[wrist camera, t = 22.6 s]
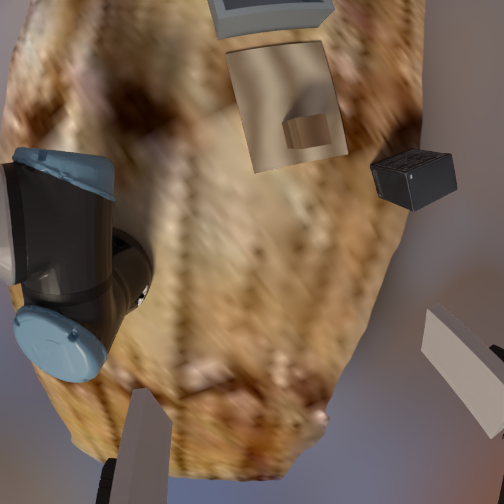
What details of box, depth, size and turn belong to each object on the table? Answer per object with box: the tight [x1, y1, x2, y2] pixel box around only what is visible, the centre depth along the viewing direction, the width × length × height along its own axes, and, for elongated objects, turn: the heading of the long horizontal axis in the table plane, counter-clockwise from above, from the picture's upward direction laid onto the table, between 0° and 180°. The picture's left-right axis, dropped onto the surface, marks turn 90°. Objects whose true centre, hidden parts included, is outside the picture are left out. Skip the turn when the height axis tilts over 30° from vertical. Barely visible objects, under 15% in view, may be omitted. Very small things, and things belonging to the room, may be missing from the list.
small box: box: [370, 149, 457, 212], centre depth 39 cm, size 11×6×10 cm, turn 113°
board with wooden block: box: [225, 42, 348, 173], centre depth 35 cm, size 15×19×9 cm
